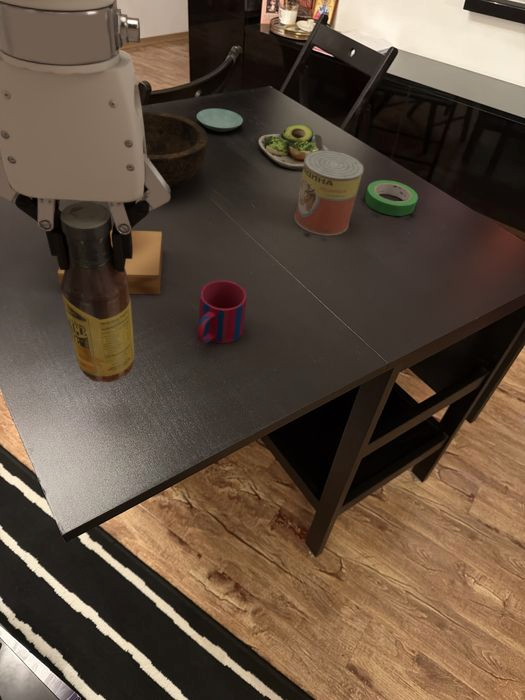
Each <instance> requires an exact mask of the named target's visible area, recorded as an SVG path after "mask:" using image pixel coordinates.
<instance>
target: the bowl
mask: <svg viewBox="0 0 525 700" xmlns="http://www.w3.org/2000/svg"><path fill="white" fill-rule="evenodd" d="M142 115H143V123H144V132H145V142H146V153H147V157H148V158H149V160H150V161H151V162H152V164H153V165H154V167H155V168H156V169H157V171H158V172H159V173H160V175H161V176H162V177H163V179H164V180H165V182H166V183H167V184H168V186H169V187H170V189H172V188H175V187H178V186H180V185H183V184H184V183H186V182H188V181H189V180H191V179H192V178H193V177H194V175H195V174H197V172H198V171H199V169H200V168H201V166H202V164H203V162H204V160H205V156H206V151H207V145H208V139H209V138H208V134H207V132H206V130H205V129H204V128H203V127H202V126H201V125H200V124H198V123H196V122H195V121H193V120H191V119H189V118H187V117H184V116H180V115H177V114H173V113H168V112H162V111H161V112H160V111H147V110H146V111H142ZM144 190H148V189H147V187H146V186H145V185H144Z"/></svg>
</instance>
